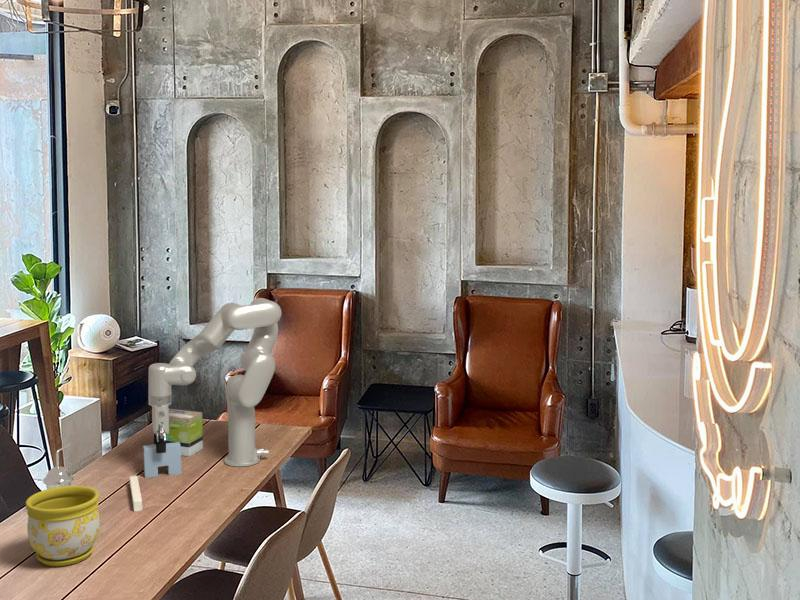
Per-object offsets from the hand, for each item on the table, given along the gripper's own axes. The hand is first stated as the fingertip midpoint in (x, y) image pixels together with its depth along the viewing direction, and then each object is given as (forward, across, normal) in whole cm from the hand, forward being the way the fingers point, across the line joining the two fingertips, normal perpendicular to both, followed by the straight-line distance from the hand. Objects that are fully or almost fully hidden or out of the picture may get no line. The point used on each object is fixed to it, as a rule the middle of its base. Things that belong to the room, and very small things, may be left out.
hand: (159, 448), depth 282 cm
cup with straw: (+10, -24, +31) cm, 40 cm away
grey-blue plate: (+9, 0, -1) cm, 9 cm away
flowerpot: (+10, -58, +29) cm, 65 cm away
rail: (+10, -20, +9) cm, 24 cm away
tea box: (+9, +24, -9) cm, 27 cm away
